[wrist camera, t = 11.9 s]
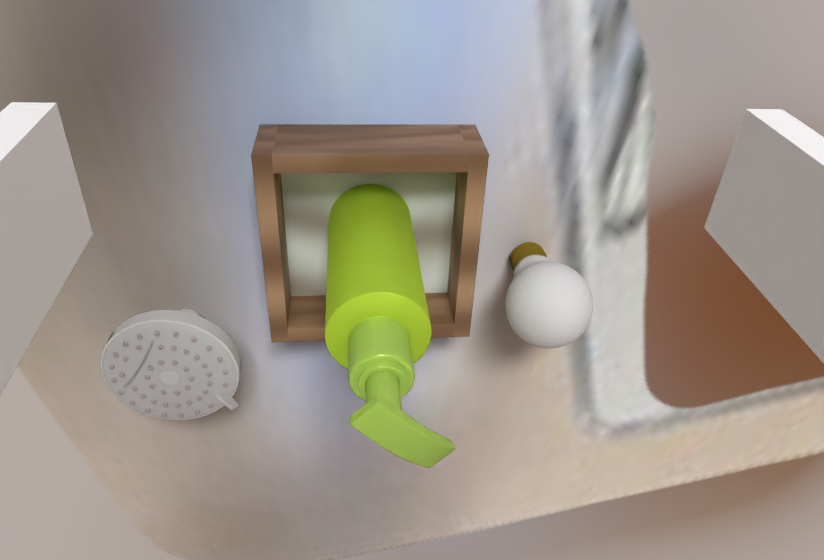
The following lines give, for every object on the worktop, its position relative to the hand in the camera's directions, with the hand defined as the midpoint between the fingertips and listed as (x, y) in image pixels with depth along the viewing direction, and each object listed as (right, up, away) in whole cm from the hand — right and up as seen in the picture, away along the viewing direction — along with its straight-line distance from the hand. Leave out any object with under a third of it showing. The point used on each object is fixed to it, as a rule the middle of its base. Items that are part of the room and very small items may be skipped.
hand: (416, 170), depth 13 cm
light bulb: (+9, 0, +38) cm, 39 cm away
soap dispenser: (-3, +2, +34) cm, 34 cm away
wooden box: (-3, +2, +35) cm, 35 cm away
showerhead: (-17, -5, +39) cm, 43 cm away
